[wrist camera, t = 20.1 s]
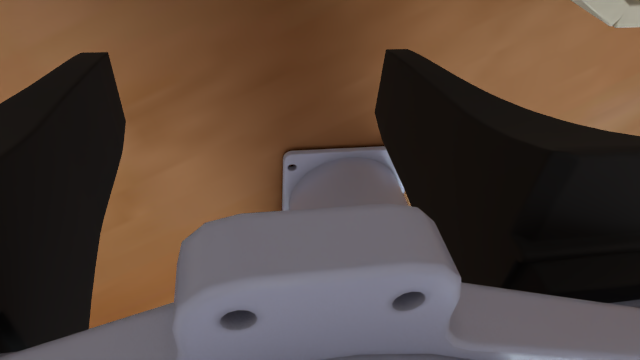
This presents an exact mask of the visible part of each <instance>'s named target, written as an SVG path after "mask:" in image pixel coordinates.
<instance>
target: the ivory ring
mask: <svg viewBox="0 0 640 360" xmlns="http://www.w3.org/2000/svg"><path fill="white" fill-rule="evenodd" d="M571 1H573V2H574V3H576V4H577V5H579V6H580V7H582V8H583V9H585V10H586V11H588V12H589V13H591V14H592V15H594V16H595V17H597V18H598V19H600V20H601V21H603V22H604V23H606V24H607V25H609V26H613V27H615V28H626V27H640V0H571Z"/></svg>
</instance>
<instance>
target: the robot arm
mask: <svg viewBox="0 0 640 360" xmlns="http://www.w3.org/2000/svg"><path fill="white" fill-rule="evenodd" d="M375 115H376V119H377V123H378V127H379V131H380V134H381V138H382V141H383V143H384V145H385V146H378V147H357V148H337V149H317V150H297V151H288V152H287V153H285V154H284V156H283V187H282V211H272V212H258V213H244V214H238V215H234V216H230V217H226V218H222V219H218V220H214V221H210V222H207V223H205V224H203V225H202V226H201V227H200V228H198V229H197V230H196V231H195V232H194V233H192V234H191V235H190V236H189V237H187V238H186V239H185V240H184V241H182V244H181V248H180V253H179V258H178V262H177V272H176V285H175V298H174V302H173V303H170V304H167V305H164V306H161V307H158V308H154V309H151V310H148V311H145V312H142V313H139V314H135V315H132V316H129V317H126V318H123V319H120V320H116V321H113V322H110V323H107V324H104V325H101V326H97V327H94V328H91V329H89V319H90V309H91V299H92V290H93V282H94V274H95V266H96V259H97V252H98V245H99V239H100V232H101V228H102V223H103V219H104V215H105V212H106V208H107V205H108V201H109V198H110V194H111V191H112V188H113V184H114V181H115V177H116V174H117V170H118V166H119V163H120V159H121V155H122V151H123V143H124V133H125V123H126V121H125V117H124V113H123V109H122V105H121V101H120V97H119V93H118V90H117V86H116V82H115V78H114V74H113V70H112V66H111V62H110V59H109V55H108V52H101V53H80V54H78V55H76V56H74V57H72V58H71V59H69V60H68V61H66V62H65V63H63V64H62V65H60V66H59V67H57V68H56V69H54V70H53V71H51V72H50V73H48V74H47V75H45V76H44V77H42V78H41V79H39V80H38V81H36V82H35V83H33V84H32V85H30V86H29V87H27V88H25V89H24V90H22V91H20V92H19V93H17V94H16V95H14V96H12V97H11V98H9V99H7V100H6V101H4V102H2V103H1V104H0V360H640V136H634V135H628V134H622V133H615V132H609V131H604V130H600V129H595V128H591V127H587V126H582V125H578V124H574V123H570V122H566V121H563V120H559V119H556V118H553V117H550V116H546V115H543V114H540V113H537V112H534V111H531V110H528V109H525V108H523V107H520V106H518V105H515V104H513V103H510V102H508V101H505V100H503V99H500V98H498V97H496V96H494V95H492V94H490V93H488V92H486V91H484V90H482V89H480V88H478V87H476V86H474V85H472V84H470V83H468V82H466V81H464V80H463V79H461V78H459V77H457V76H455V75H454V74H452V73H450V72H449V71H447V70H445V69H443V68H442V67H440V66H438V65H437V64H435V63H433V62H431V61H430V60H428V59H426V58H424V57H423V56H421V55H419V54H417V53H415V52H413V51H410V50H408V49H391V50H386V53H385V58H384V64H383V69H382V75H381V81H380V86H379V92H378V97H377V103H376V108H375ZM291 164H294V166H293V167H289V165H291ZM404 191H405V192H406V194H407V196H408V198H409V201H410V203H411V206H412V207H411V206H408V204H407V201H406V199H405V197H404V195H403V194H404Z"/></svg>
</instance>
